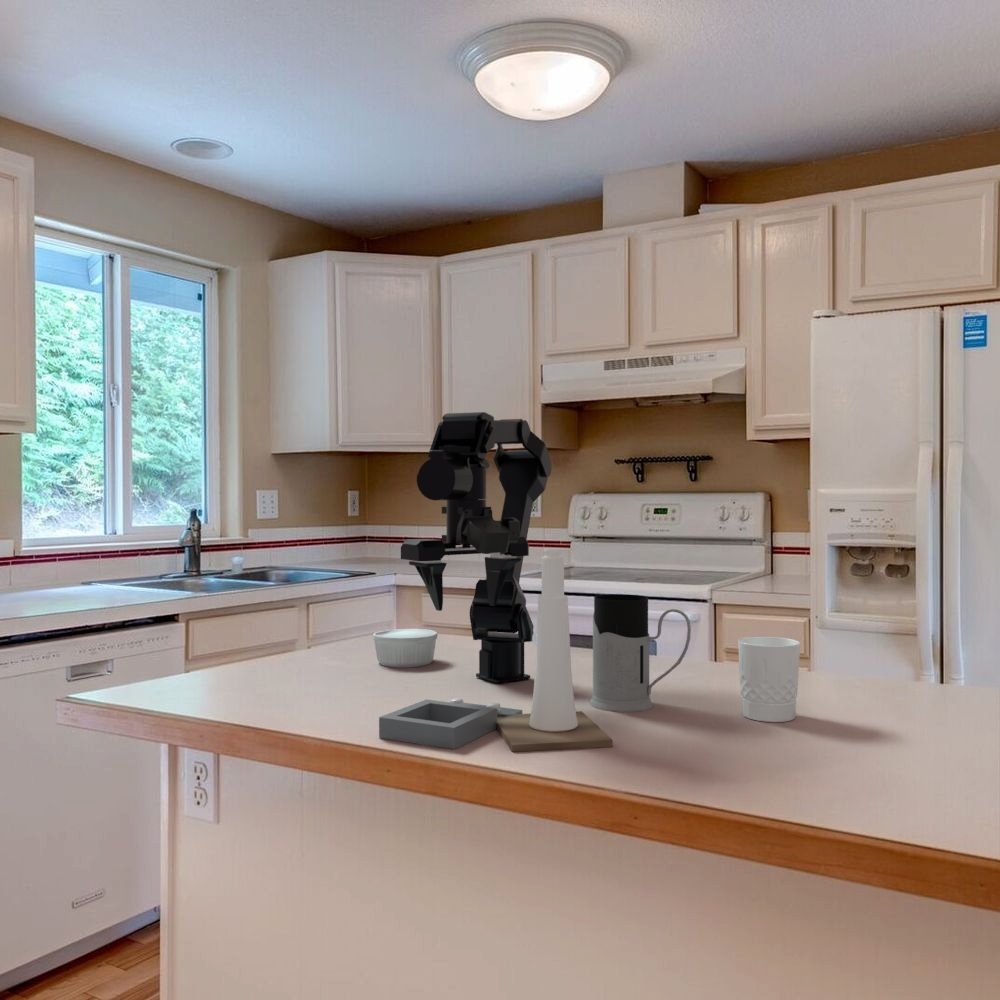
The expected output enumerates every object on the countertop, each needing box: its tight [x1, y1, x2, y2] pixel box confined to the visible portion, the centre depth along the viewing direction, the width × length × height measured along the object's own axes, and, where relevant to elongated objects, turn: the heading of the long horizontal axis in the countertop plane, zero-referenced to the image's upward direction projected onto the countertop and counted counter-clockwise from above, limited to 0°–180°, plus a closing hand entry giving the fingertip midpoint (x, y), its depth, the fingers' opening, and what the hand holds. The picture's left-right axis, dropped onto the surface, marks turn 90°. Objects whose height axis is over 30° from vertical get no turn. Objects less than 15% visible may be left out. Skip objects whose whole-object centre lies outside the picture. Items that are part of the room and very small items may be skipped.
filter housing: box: [378, 697, 523, 750], centre depth 117 cm, size 18×11×2 cm, turn 152°
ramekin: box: [372, 628, 438, 668], centre depth 160 cm, size 11×11×5 cm
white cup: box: [737, 635, 801, 723], centre depth 122 cm, size 8×8×10 cm
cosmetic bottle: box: [529, 547, 578, 732], centre depth 114 cm, size 6×6×22 cm
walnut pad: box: [497, 710, 614, 753], centre depth 114 cm, size 14×12×1 cm
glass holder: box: [589, 593, 692, 713], centre depth 128 cm, size 9×14×15 cm, turn 64°
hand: (466, 608), depth 133 cm, fingers open, 9 cm apart
